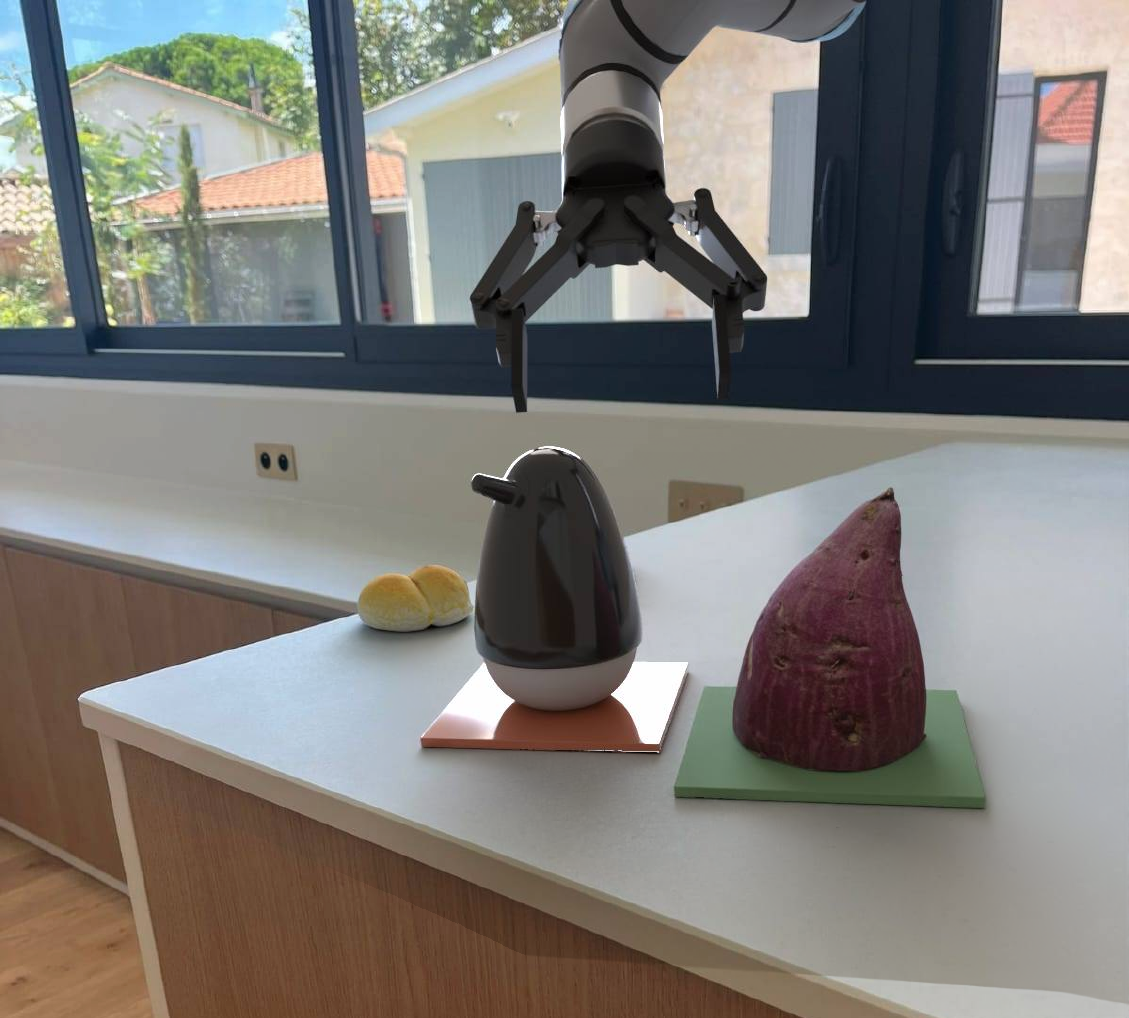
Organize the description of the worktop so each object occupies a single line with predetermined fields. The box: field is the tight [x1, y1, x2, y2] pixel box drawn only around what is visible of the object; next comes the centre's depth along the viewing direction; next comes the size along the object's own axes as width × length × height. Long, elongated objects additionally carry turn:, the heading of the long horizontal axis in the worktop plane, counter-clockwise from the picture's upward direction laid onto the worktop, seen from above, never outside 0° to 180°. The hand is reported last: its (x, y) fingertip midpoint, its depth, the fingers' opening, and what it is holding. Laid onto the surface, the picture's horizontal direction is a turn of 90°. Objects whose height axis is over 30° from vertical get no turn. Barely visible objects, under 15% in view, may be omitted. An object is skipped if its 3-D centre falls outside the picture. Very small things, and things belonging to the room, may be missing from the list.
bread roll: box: [356, 564, 475, 633], centre depth 91 cm, size 8×9×4 cm
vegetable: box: [732, 487, 927, 772], centre depth 61 cm, size 10×10×15 cm
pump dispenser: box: [470, 446, 643, 711], centre depth 68 cm, size 10×10×15 cm
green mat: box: [673, 685, 986, 809], centre depth 64 cm, size 15×15×1 cm
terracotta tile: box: [419, 661, 690, 752], centre depth 71 cm, size 14×14×1 cm
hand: (621, 393), depth 76 cm, fingers open, 13 cm apart
